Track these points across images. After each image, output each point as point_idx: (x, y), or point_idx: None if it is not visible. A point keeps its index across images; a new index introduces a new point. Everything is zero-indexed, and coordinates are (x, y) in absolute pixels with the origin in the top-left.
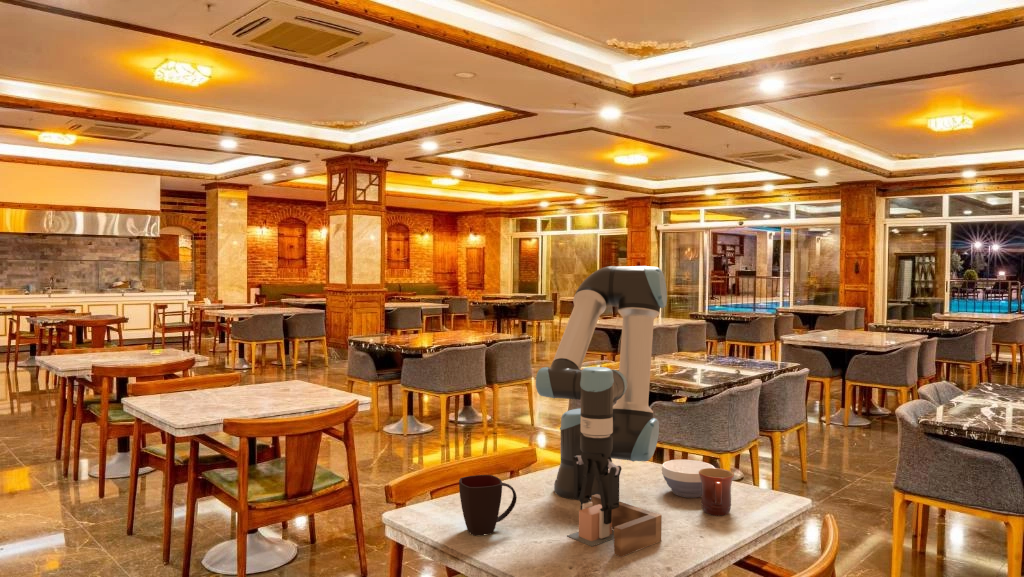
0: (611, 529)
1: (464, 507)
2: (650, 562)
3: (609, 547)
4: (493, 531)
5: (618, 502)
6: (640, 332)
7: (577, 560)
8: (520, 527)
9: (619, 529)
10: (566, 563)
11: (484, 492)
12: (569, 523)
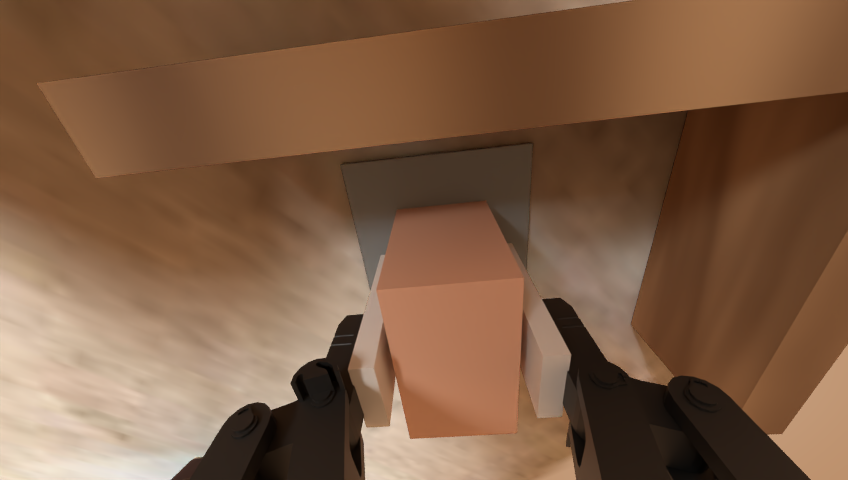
0: (489, 212)
1: None
2: None
3: (575, 298)
4: None
5: (761, 440)
6: None
7: (563, 419)
8: (233, 406)
9: (764, 430)
10: (553, 443)
11: None
12: (254, 264)
